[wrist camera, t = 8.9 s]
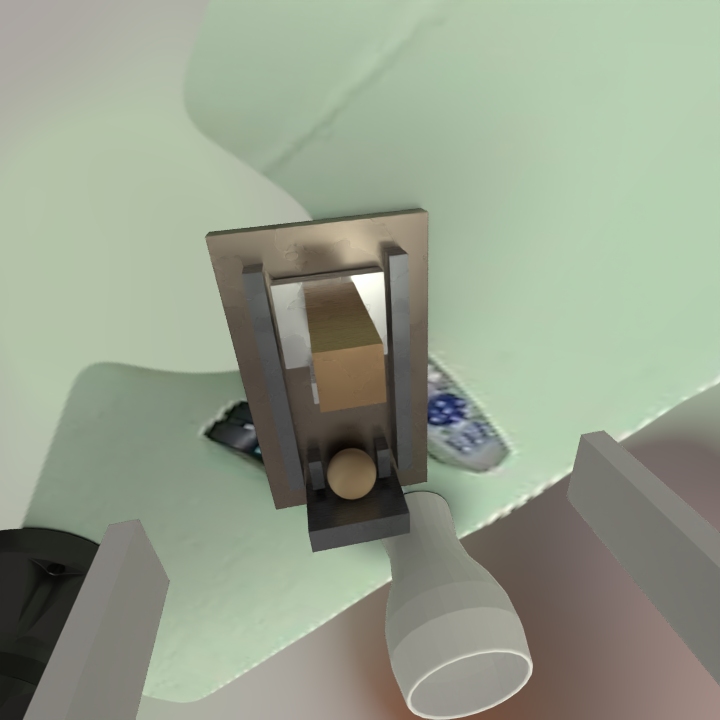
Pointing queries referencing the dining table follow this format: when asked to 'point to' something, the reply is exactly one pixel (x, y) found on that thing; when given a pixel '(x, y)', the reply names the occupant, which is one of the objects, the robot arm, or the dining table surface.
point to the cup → (449, 621)
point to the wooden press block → (336, 334)
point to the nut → (351, 473)
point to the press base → (293, 386)
